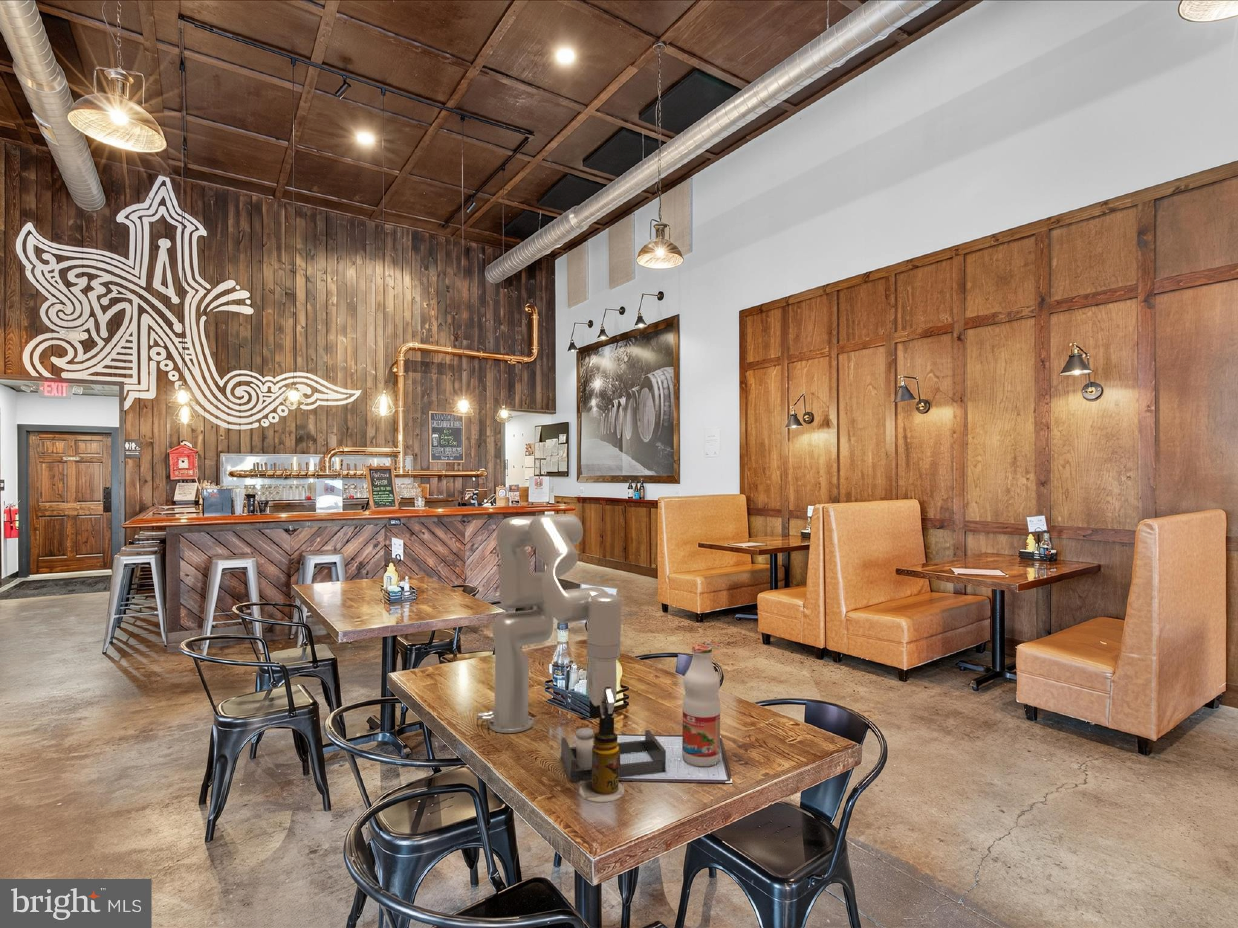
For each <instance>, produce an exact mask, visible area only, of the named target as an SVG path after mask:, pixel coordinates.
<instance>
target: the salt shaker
mask: <svg viewBox="0 0 1238 928" xmlns="http://www.w3.org/2000/svg"><path fill="white" fill-rule="evenodd" d="M575 733H576V734H575V735H576V736H575V737H576V747H577V748H576V759H575V766H576V767H578V768H579V769H581V768H590V767H592V748H593V745H594V729H592V728H589V727H581V728H578V729H577V730H576V731H575Z"/></svg>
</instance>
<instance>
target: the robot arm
mask: <svg viewBox="0 0 1238 928" xmlns="http://www.w3.org/2000/svg"><path fill="white" fill-rule="evenodd" d="M583 535H584V528H583V524H582V522H581V520H580V519H579V518H578V517H577V516H576V515H575V514H572V513H553V514H552V513H551V514H550V513H548V514H541V515H524V516H523V515H521V516H519V515H518V516H511V517H510V516H509V517H506V518H504V519H503V520H502V521H500V522H499V524H498V527H497V530H496V544H497V549H498V553H499V557H500V563H499V564H500V565H499V591H498V592H499V595H498V597H499V602H500V604H501V605H502V606H503V607H504V608H506V609H507V608H508V609H520V608H528V607H533V609H529V610H518V611H511V612H505V613H502V614H500V615H498V616H496V618H495V619H494V620H493V623H492V628H491V630H492V631H491V632H492V638H493V643H494V644H493V646H494V656H495V657H494V659H495V660H494V662H495V663H494V664H495V665H494V706H492V709H489V710H488V711H478V712H477V720H482V722H488V728H489V729H490V730H492V731H493V732H497V733H501V734H514V733H515V734H517V733H520V732H521V733H522V732H525V731H527V730H529V729H531V728H532V727H533V726H534V722H535V721H534V717H532V716H531V715H529V696H530V695H529V691H530V690H529V689H530V687H529V686H530V681H529V680H530V661H529V658H528V655H526V653H525V652H524V651H523V649H522V647H523V646H527V645H534V644H541V643H544V642H547V641H548V640H550V638H551V636H552V635H553V630H554V620H556V621H557V622H559V623H561V624H570V623H577V622H584V621H586V622H587V631H586V632H587V637H586V657H587V658H588V661H587V670H586V671H587V673H586V683H585V685H586V687H585V692H586V694H587V696H588V699H589V709H588V711H589V712H588V714H589V715H588V716H589V718H590V719H594V718H595V719H597V718H599V721H598V724H599V725H598V732H599V735H600V736H607V735H613V734H614V733H615V731H614V730H615V705H616V700H617V683H618V682H617V680H618V679H617V660H619V659H620V657H621V637H622V636H621V635H622V633H621V632H622V631H621V630H622V608H623V607H622V599H621V597H620V596H619V595H617V594H613V593H609V592H608V591H607V590H605V589H604V588H602V587H599V586H592V587H580V588H570V589H564V588H563V587H562V585H561V583H560V582H559V578H561V577H562V576H564V575H566V574H567V573H569V572H570V571H571V570H572V569H574V567H575V566H576V565H577V563H578V562H579V561H578V560H579V554H578V551H577V550H576V548H575V545H578V544H579V543H580V542H581V541H582V539H583V537H584V536H583ZM529 547H531V548H532V547H535V548H536V550H537V552H538V555H539V556H540V558H541V560H542V562H543V563H544V565H545V567H546V568H545V569H544V572H542V571H541V572H531V563H532V561H531V557H530V554H529V552H528V550H527V549H526V548H529Z"/></svg>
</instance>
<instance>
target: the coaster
mask: <svg viewBox="0 0 1238 928" xmlns="http://www.w3.org/2000/svg"><path fill="white" fill-rule="evenodd" d="M590 781H591V780H590ZM619 786H620V788H621V790H622V792H623V794H620V795H610V796H597V797H588V798H585V795H584V792H583V790H582V787H581V785H580V786H579V795H580V796H581V797H582V798H583V799H585V800H587V801H590V802H593V803H610V802H615V801H617V800H619V799H621V798H622V797H623V795H624V794H625V787H624V785H623V784H621V782H619ZM592 793H593V792H592Z"/></svg>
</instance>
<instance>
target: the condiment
mask: <svg viewBox="0 0 1238 928" xmlns="http://www.w3.org/2000/svg"><path fill="white" fill-rule="evenodd" d="M618 743H619V742H618V735H617V733H616V732H614V734H613V735H607V736H600V735H599V731H598V732H596V733H595V734H594V735H593V745H594V746H593V748H592V766H591V767H592V780H591V781H580V782H579V783H580V786H581V787H582V790H583V792H584V795H585V798H588V797H597V796H610V795H620V794H623V792H622V790H621V788H620V786H619V783H620V782H619V778H620V777H619V747H618V745H617V744H618ZM592 792H593V793H592ZM623 795H624V794H623ZM585 798H584V799H585Z"/></svg>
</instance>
